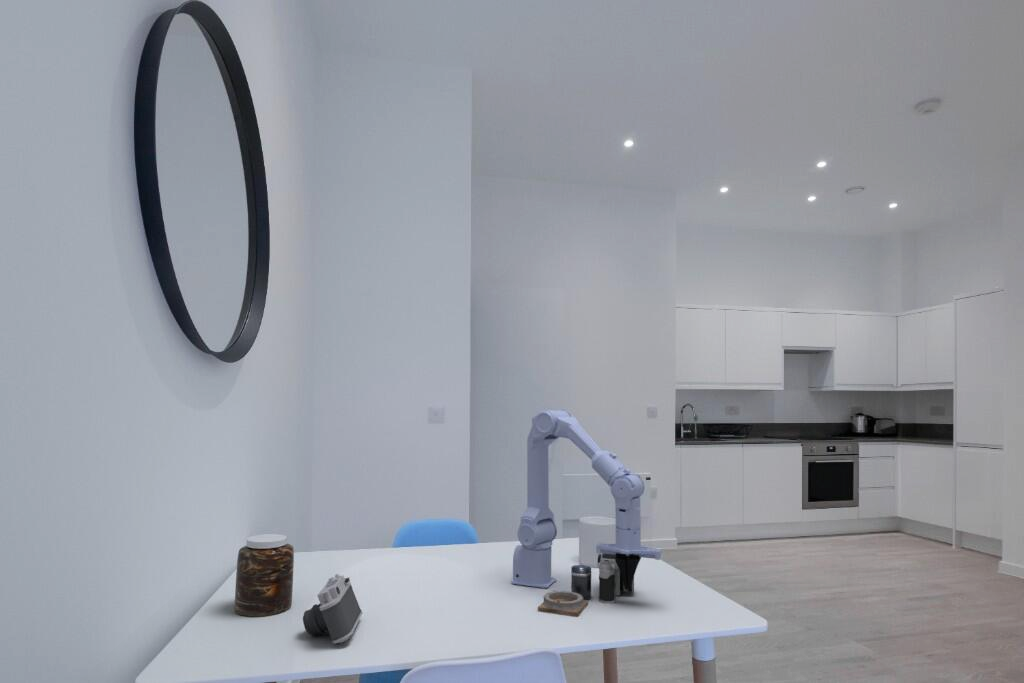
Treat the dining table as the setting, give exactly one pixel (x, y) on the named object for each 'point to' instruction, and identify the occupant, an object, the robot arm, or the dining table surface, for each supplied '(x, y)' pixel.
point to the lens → (581, 581)
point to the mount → (563, 603)
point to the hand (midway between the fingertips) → (628, 588)
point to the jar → (264, 576)
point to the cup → (594, 537)
